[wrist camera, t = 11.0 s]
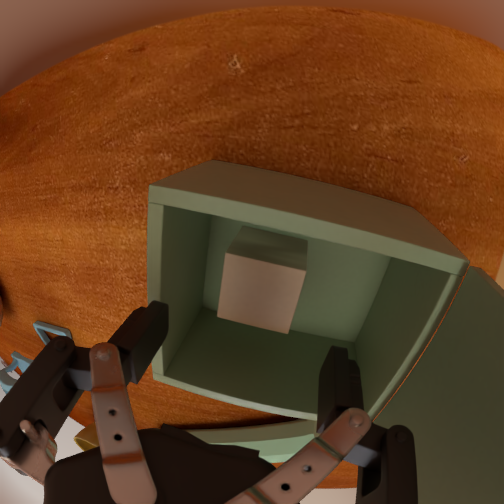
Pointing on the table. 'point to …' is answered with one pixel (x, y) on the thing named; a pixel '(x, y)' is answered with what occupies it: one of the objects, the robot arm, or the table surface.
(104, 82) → the table surface
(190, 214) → the chest
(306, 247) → the block
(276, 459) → the green rod
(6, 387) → the chair
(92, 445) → the flower pot
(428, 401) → the lid
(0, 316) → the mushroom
